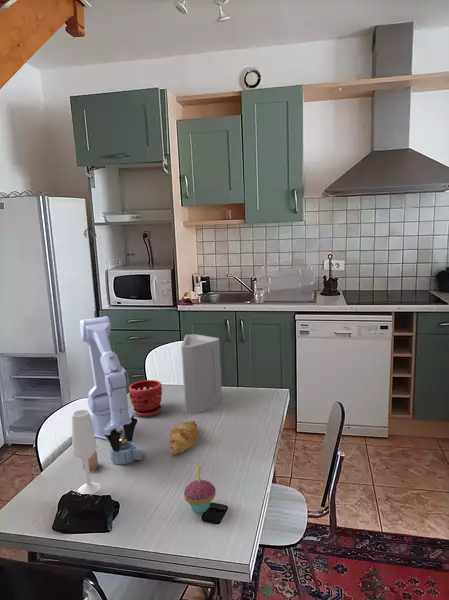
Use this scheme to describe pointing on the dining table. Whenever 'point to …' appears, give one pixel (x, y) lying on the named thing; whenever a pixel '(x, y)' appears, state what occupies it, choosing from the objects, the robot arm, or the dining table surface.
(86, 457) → the champagne flute
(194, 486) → the cupcake
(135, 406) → the plant pot
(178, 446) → the croissant
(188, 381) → the grey tall triangular prism
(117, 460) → the press pot
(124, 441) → the plunger
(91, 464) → the tan rounded cylinder
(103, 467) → the dining table surface
